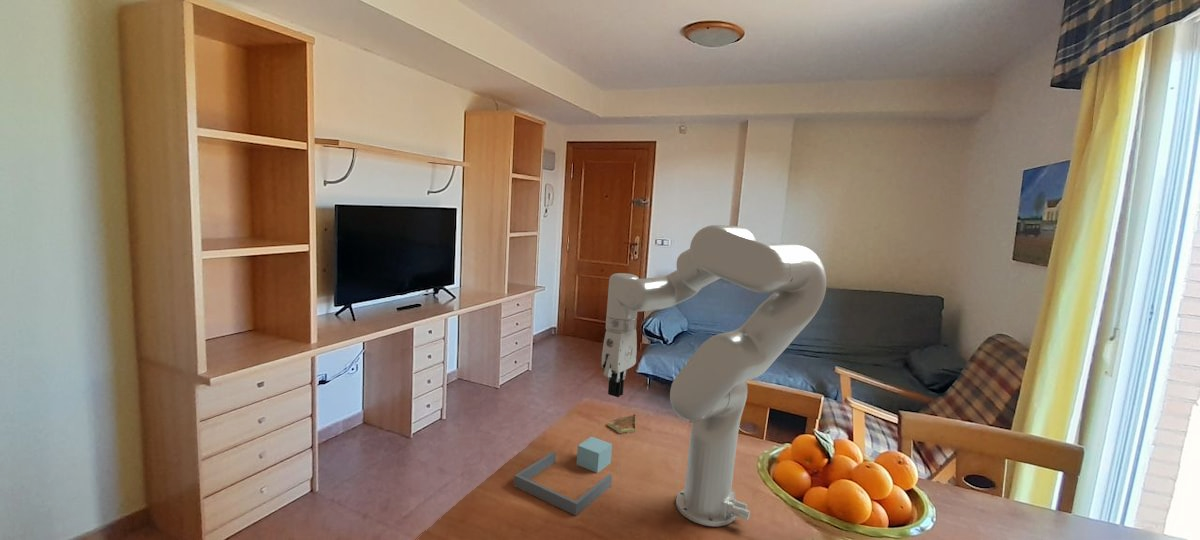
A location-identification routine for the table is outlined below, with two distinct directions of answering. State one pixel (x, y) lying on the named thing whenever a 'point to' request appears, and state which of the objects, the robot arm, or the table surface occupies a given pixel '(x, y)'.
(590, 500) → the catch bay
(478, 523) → the table surface
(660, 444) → the table surface
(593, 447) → the teal block
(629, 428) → the shard
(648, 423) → the table surface
